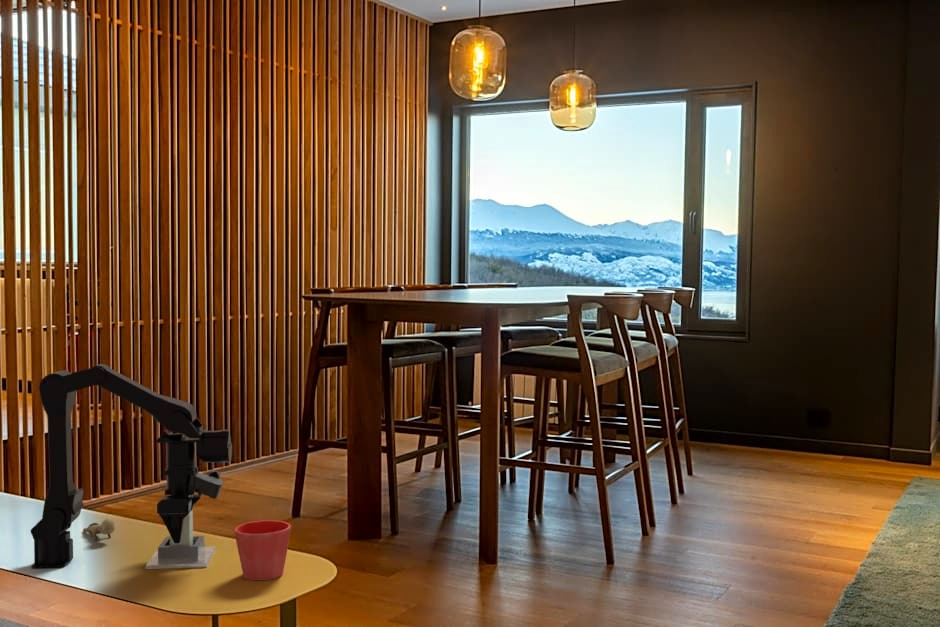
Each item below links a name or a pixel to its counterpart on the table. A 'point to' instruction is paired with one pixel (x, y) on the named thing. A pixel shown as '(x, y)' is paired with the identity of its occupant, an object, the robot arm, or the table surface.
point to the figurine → (101, 528)
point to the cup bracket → (181, 555)
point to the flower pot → (262, 548)
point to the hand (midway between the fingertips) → (181, 536)
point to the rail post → (185, 532)
